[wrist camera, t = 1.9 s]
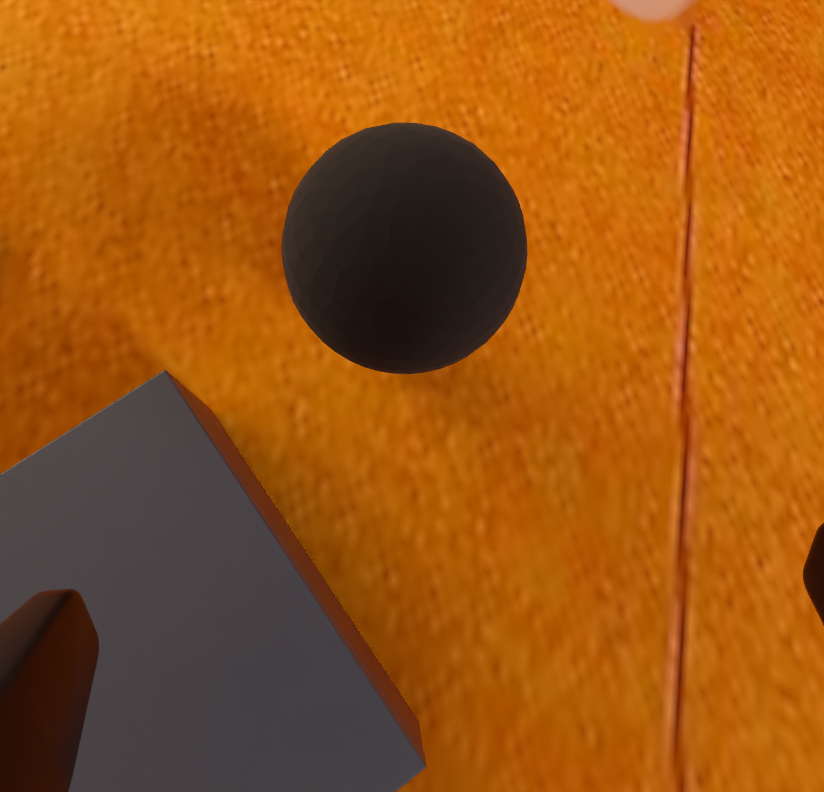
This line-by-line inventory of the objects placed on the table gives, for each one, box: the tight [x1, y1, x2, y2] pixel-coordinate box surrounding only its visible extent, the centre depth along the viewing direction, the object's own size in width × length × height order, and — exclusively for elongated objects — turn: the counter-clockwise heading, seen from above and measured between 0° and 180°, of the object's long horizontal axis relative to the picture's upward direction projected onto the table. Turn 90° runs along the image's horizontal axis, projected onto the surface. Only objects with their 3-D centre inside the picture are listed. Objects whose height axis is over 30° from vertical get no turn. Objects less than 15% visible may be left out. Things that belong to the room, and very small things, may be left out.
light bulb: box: [282, 123, 527, 374], centre depth 18 cm, size 6×6×10 cm
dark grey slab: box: [0, 370, 426, 792], centre depth 17 cm, size 12×15×4 cm
